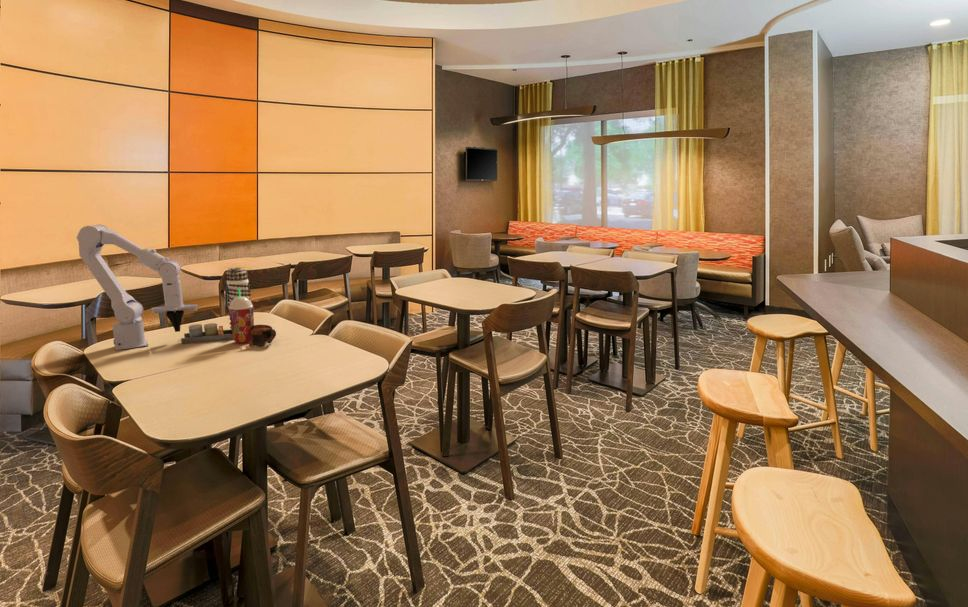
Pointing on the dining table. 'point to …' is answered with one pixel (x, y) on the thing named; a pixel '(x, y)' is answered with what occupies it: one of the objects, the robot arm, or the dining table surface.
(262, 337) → the pottery mug
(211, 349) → the dining table surface
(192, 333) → the jar
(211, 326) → the jar
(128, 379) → the dining table surface
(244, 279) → the black white checkered cylinder
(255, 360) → the dining table surface
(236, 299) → the smoothie
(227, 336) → the lane
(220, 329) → the block
